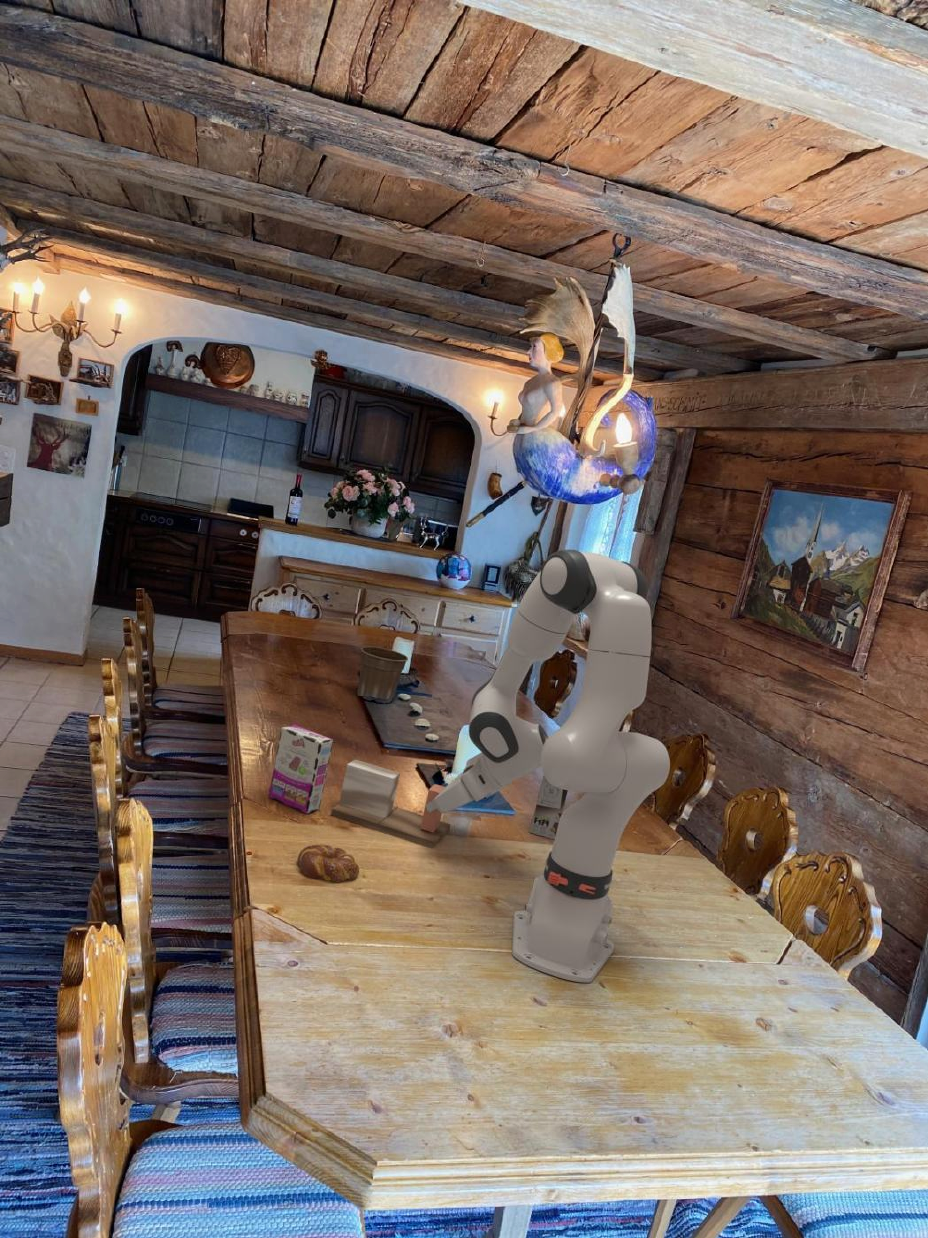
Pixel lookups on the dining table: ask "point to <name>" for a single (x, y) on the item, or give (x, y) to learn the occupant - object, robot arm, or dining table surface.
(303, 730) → the candy bar box
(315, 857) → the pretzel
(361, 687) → the plant pot
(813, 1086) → the dining table surface
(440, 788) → the stub
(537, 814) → the coffee box
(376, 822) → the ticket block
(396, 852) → the dining table surface
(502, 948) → the dining table surface
